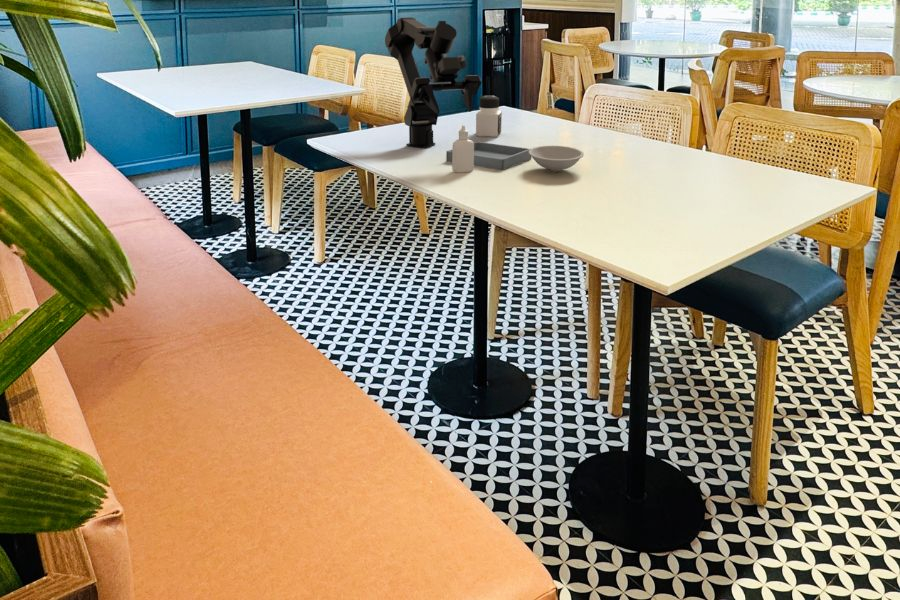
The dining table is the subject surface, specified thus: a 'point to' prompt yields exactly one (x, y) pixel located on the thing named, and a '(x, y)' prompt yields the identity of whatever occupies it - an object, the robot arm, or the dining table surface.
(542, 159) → the dish
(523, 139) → the dining table surface
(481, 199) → the dining table surface
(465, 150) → the eye dropper bottle
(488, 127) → the medicine bottle
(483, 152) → the slate tray
